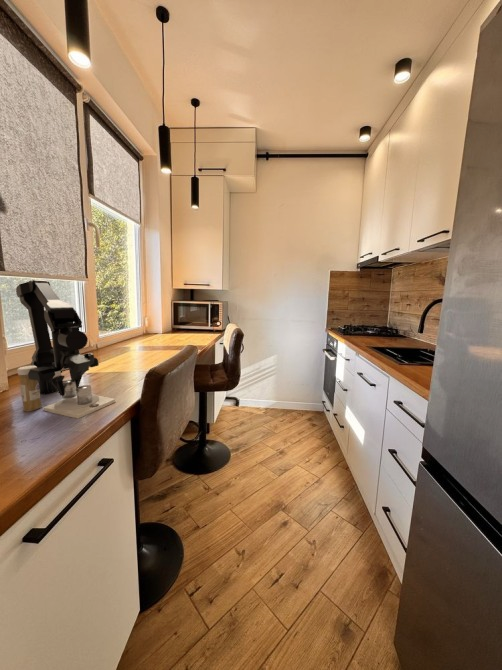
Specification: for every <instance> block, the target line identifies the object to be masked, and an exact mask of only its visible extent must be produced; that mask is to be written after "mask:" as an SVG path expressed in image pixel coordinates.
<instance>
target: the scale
mask: <svg viewBox="0 0 502 670" xmlns="http://www.w3.org/2000/svg"><path fill="white" fill-rule="evenodd" d="M114 403H116V398H112V397H108V396H107V397H106V396H102V395H97V394H95V393H92V402H91V403H89V404H86V405H78V403H77V396H75V397H73V398H68V399H64V398H61V399H59V400H58V401H56V402H54V403H52V404H49V405H46V406H43V408H42V409H43V411H46V412H49V413H52V414H57V415H61V416H65V417H69V418H72V419H77V420H78V419H80V418H83V417H84V416H87V415H89V414H92V413H93V412H96V411H98V410H101V409H103V408H104V407H106V406H109V405H111V404H114Z"/></svg>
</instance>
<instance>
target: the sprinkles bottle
mask: <svg viewBox="0 0 502 670" xmlns="http://www.w3.org/2000/svg"><path fill="white" fill-rule="evenodd" d="M35 368H37V366H30V365H25V366H20V367H18V368H17V375H18V379H19V387H20V388H19V390H20V396H21V401H22V407H23V408H22V411H24V412H33V411H36V410H39V409H40V408H42V402H41V394H40V391H39V384H38V381H37V380H32V379H29V378H28V373H29V371H30V369H35Z"/></svg>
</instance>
